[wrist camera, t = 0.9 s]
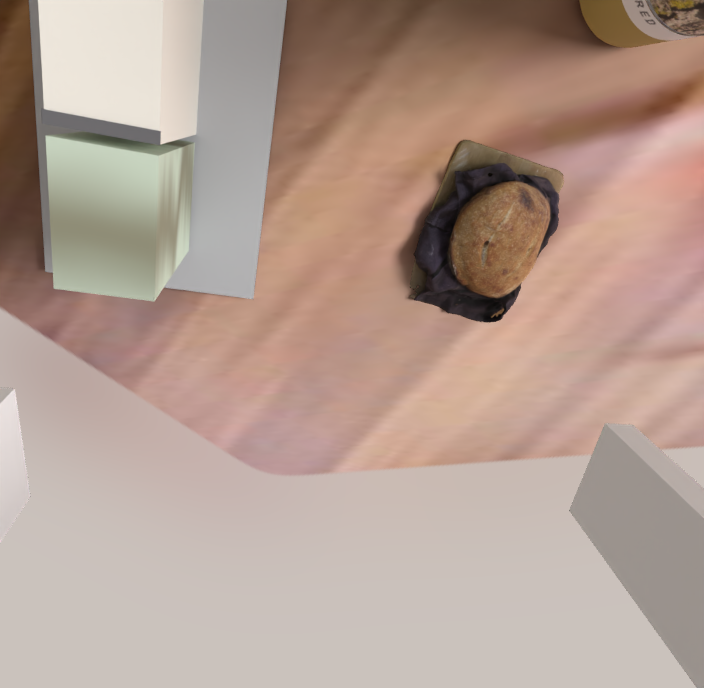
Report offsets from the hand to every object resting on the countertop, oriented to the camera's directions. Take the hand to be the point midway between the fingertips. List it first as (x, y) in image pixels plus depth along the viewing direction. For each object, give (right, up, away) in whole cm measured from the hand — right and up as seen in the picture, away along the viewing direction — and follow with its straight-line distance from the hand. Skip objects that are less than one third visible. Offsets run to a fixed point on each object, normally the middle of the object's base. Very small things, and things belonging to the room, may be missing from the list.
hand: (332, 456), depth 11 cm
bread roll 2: (+9, +10, +21) cm, 25 cm away
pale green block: (-11, +11, +16) cm, 22 cm away
